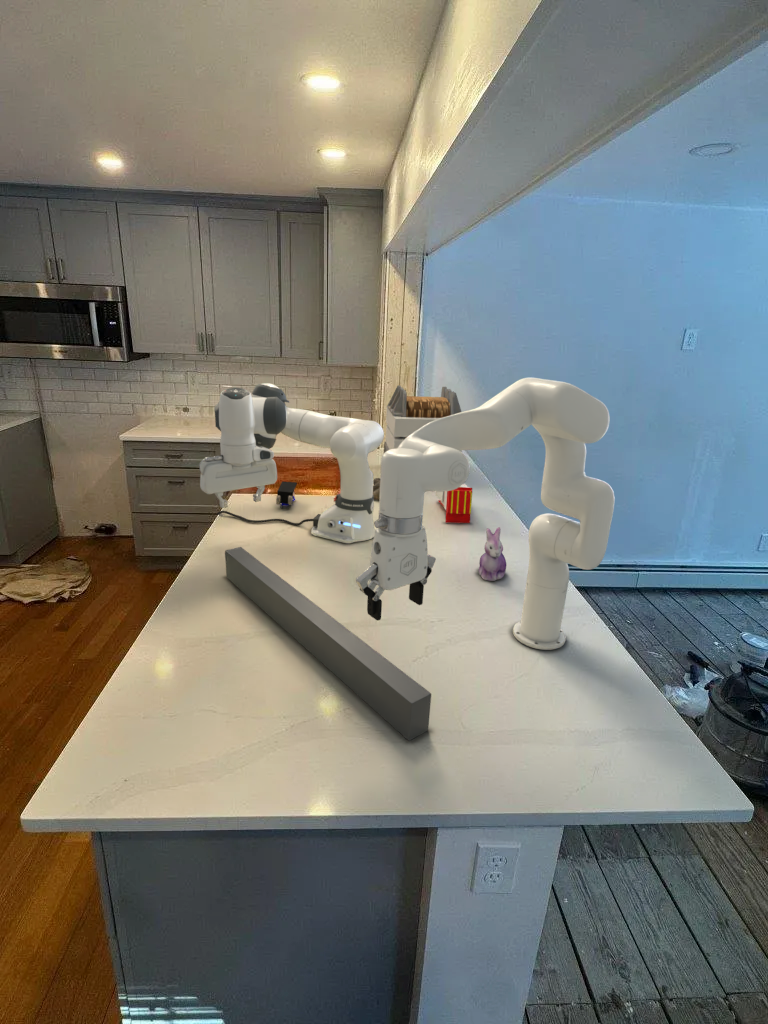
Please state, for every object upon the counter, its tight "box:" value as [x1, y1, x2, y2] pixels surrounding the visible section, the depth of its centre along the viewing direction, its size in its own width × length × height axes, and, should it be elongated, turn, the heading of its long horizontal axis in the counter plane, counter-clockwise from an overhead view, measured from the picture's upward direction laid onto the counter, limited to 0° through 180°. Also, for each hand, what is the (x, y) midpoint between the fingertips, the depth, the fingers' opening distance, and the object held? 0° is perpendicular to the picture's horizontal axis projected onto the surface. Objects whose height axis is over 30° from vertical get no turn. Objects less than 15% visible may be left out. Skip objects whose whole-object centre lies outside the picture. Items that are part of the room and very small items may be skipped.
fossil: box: [373, 477, 380, 501], centre depth 241 cm, size 22×10×15 cm
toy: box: [435, 482, 473, 524], centre depth 223 cm, size 12×13×30 cm
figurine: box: [478, 526, 507, 582], centre depth 169 cm, size 9×10×15 cm
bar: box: [224, 546, 432, 742], centre depth 134 cm, size 80×5×8 cm, turn 39°
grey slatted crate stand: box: [383, 384, 463, 454], centre depth 268 cm, size 34×33×41 cm
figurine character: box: [275, 480, 298, 509], centre depth 223 cm, size 7×8×15 cm
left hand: (240, 504), depth 150 cm, fingers open, 8 cm apart
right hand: (395, 609), depth 103 cm, fingers open, 9 cm apart
